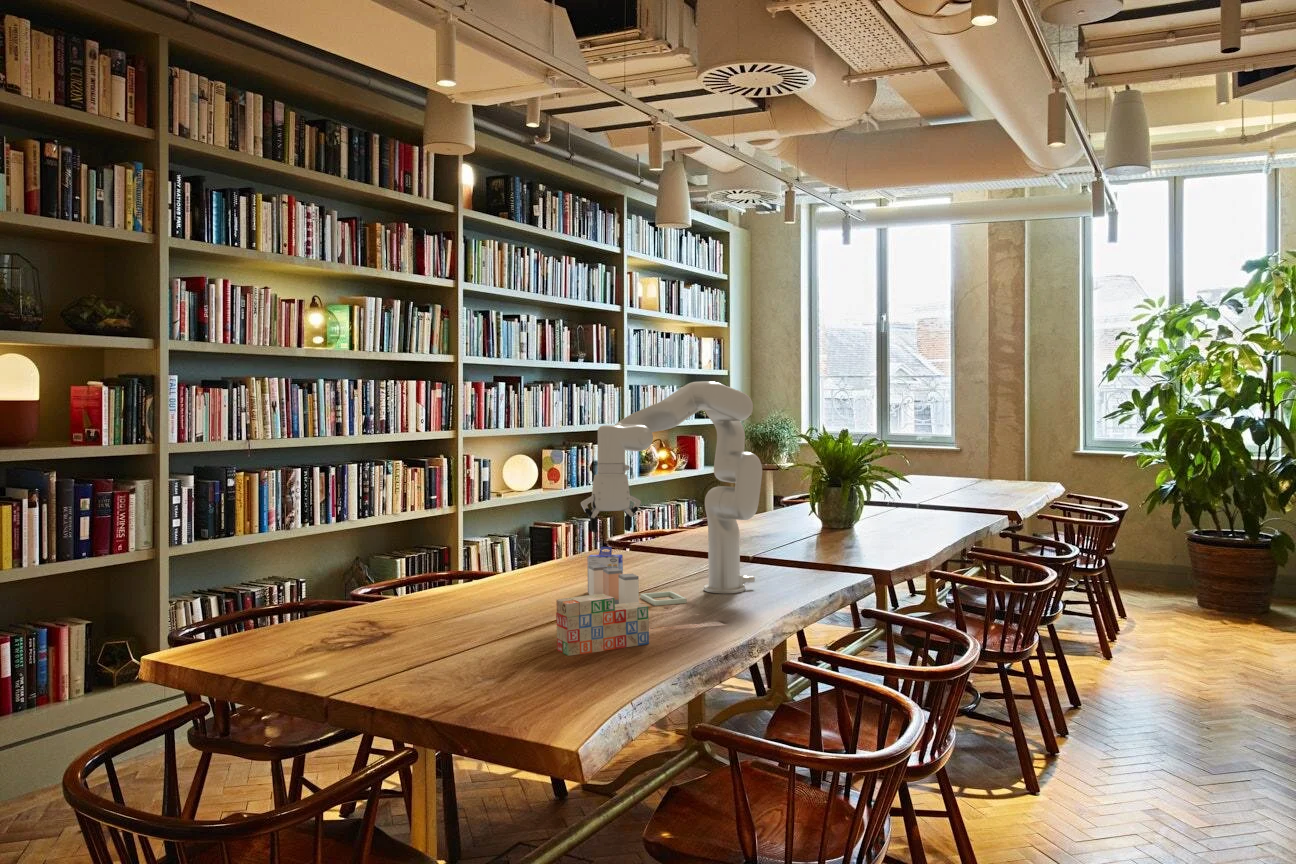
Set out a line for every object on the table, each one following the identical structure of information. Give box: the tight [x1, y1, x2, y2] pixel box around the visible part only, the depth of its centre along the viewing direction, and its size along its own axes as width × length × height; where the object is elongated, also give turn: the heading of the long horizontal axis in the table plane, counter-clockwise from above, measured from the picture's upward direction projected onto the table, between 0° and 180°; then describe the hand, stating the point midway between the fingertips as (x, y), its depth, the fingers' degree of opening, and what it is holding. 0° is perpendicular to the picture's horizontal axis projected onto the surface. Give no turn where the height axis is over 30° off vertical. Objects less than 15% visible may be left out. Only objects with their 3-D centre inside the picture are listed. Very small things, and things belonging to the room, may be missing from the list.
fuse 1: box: [588, 564, 607, 595], centre depth 289 cm, size 4×5×10 cm
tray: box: [639, 590, 688, 606], centre depth 287 cm, size 10×12×2 cm
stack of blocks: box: [555, 594, 650, 657], centre depth 239 cm, size 21×6×12 cm, turn 119°
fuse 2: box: [618, 573, 640, 604], centre depth 274 cm, size 4×5×10 cm
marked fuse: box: [603, 568, 622, 600], centre depth 281 cm, size 4×5×10 cm
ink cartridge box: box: [586, 546, 624, 594], centre depth 301 cm, size 10×6×14 cm, turn 78°
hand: (611, 531), depth 281 cm, fingers open, 9 cm apart
